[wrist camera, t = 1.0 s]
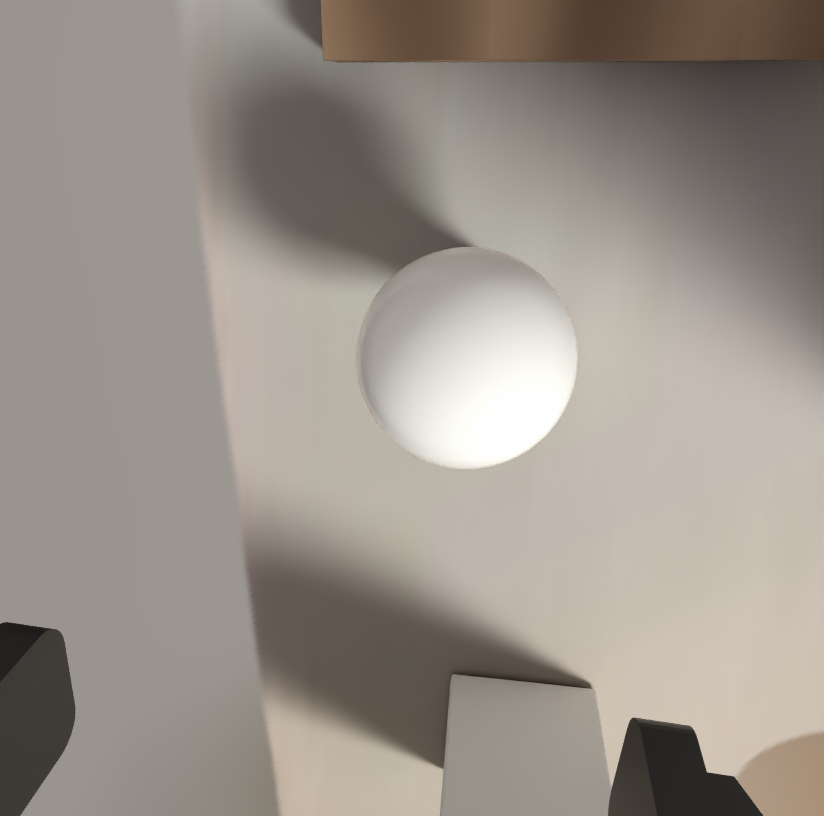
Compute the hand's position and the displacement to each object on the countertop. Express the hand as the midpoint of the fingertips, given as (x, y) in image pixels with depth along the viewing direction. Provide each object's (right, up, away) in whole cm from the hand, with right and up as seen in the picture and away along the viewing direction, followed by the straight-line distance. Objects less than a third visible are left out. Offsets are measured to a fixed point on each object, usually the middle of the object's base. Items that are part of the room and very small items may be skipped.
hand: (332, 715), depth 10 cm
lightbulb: (+4, +9, +18) cm, 21 cm away
